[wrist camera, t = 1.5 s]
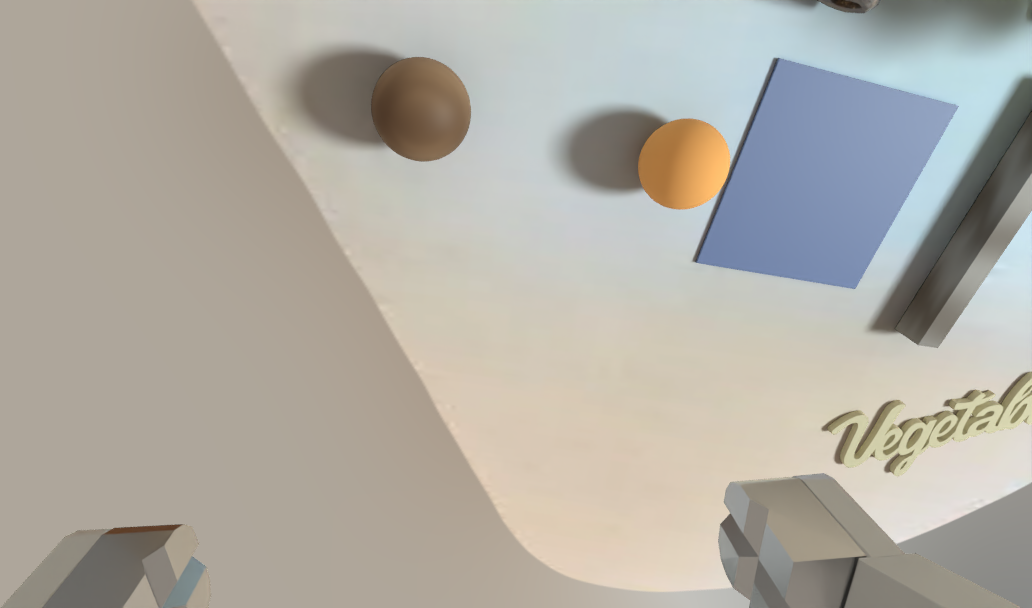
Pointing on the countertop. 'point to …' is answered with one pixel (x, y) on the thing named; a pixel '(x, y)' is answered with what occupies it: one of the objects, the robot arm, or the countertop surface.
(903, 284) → the countertop surface
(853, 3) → the pipe
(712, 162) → the orange ball
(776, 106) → the blue mark
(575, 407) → the countertop surface
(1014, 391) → the decorative sign
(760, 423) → the countertop surface
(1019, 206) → the rail
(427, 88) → the walnut ball
